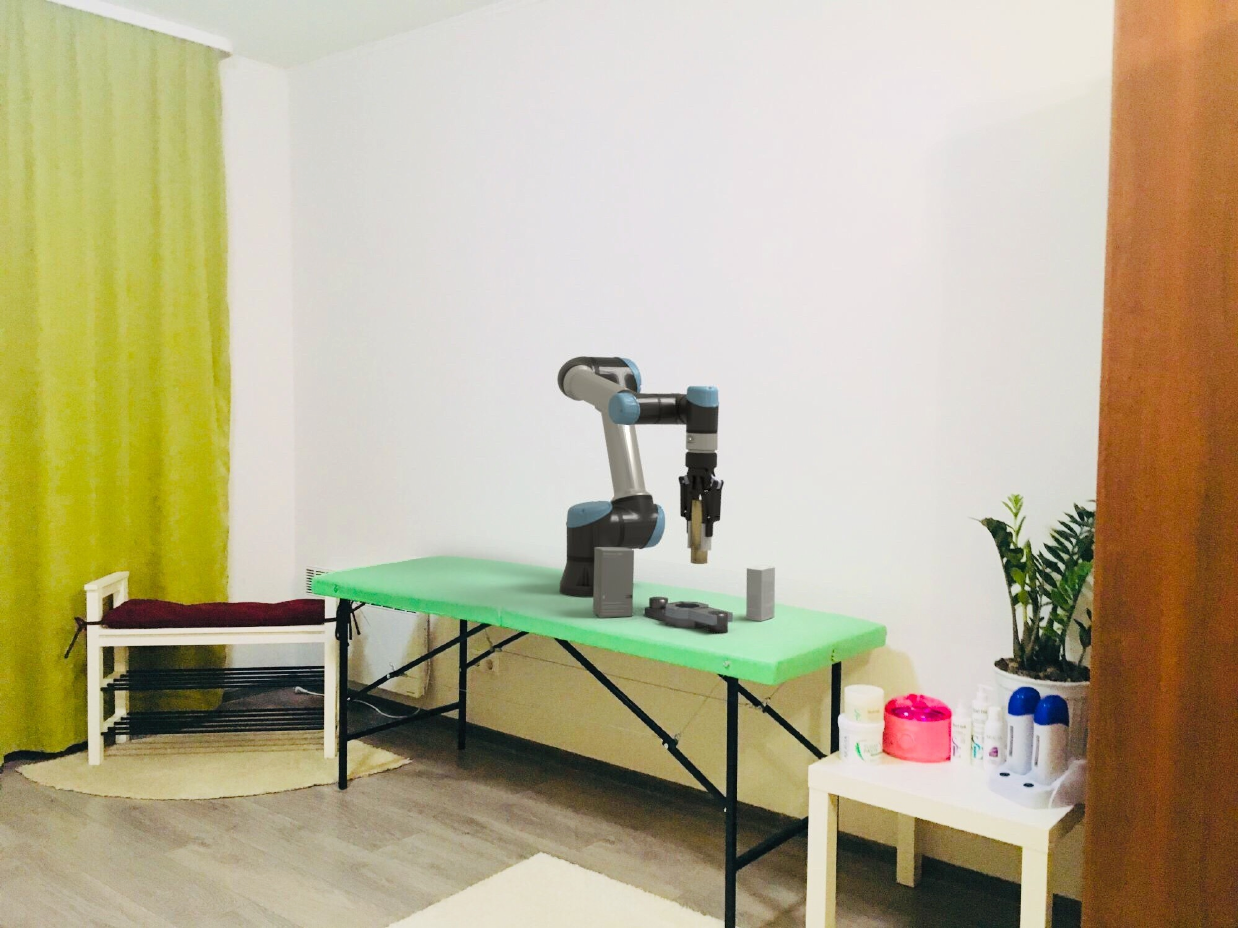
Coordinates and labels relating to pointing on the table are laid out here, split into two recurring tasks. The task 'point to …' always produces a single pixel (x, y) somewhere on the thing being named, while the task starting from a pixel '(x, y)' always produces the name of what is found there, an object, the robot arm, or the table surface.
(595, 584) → the skincare box
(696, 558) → the brass pin
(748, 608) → the skincare box
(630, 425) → the robot arm
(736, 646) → the table surface
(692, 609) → the grey socket base
